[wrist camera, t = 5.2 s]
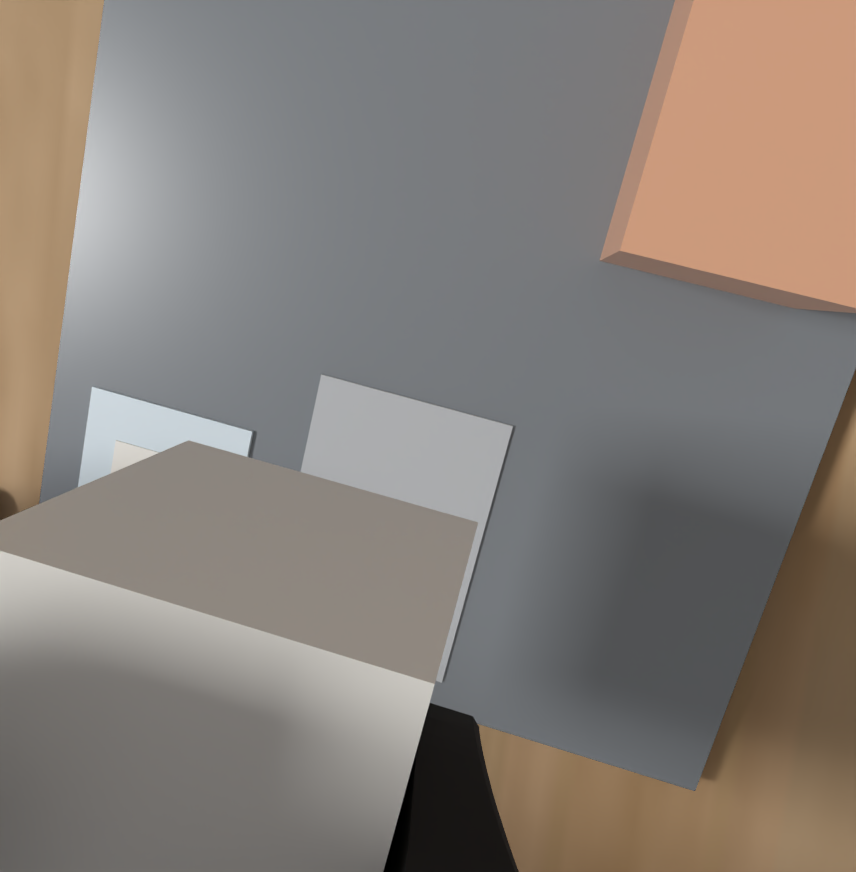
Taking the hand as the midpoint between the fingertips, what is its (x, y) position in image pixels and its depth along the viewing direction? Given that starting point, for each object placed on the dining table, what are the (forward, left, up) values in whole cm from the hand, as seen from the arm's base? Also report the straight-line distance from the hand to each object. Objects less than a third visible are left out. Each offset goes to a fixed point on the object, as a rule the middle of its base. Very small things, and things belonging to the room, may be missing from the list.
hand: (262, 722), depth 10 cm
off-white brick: (0, 0, -1) cm, 1 cm away
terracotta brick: (+5, +10, -8) cm, 14 cm away
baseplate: (0, +6, -8) cm, 10 cm away
